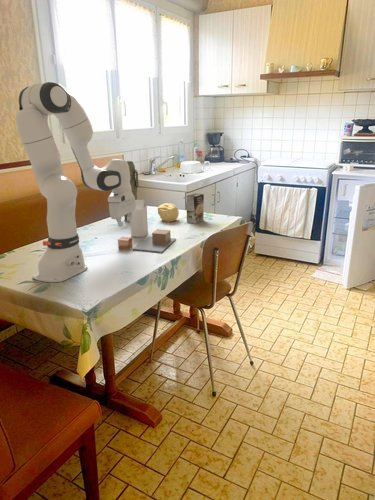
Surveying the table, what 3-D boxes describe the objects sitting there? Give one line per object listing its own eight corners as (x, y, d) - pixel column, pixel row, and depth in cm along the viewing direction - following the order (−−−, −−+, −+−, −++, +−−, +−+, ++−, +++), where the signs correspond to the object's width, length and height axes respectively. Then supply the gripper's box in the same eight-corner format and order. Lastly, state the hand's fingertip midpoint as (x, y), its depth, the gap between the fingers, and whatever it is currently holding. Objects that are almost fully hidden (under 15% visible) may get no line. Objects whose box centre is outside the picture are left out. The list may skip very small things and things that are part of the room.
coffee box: (195, 223, 221) (195, 196, 215) (186, 222, 224) (186, 195, 219) (203, 220, 228) (203, 194, 222) (195, 218, 231) (195, 193, 226)
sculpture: (155, 221, 227) (154, 203, 223) (167, 217, 236) (167, 200, 233) (170, 224, 221) (170, 206, 217) (182, 219, 230) (182, 202, 227)
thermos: (126, 217, 237) (122, 160, 226) (143, 218, 234) (140, 160, 222) (119, 220, 229) (115, 162, 218) (137, 222, 226) (133, 162, 214)
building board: (162, 253, 175) (161, 241, 173) (132, 250, 179) (131, 238, 177) (176, 240, 193) (175, 229, 191) (148, 237, 197) (148, 227, 195)
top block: (128, 250, 179) (127, 240, 177) (118, 249, 180) (117, 239, 179) (132, 247, 184) (132, 237, 182) (123, 246, 185) (122, 236, 183)
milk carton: (144, 237, 197) (142, 201, 191) (131, 236, 199) (128, 201, 192) (148, 233, 204) (146, 198, 198) (135, 232, 205) (133, 198, 199)
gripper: (125, 189, 184) (128, 217, 188) (105, 199, 165) (109, 229, 170) (137, 189, 182) (140, 217, 187) (118, 199, 164) (121, 230, 168)
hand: (125, 223), depth 178 cm, fingers open, 8 cm apart
